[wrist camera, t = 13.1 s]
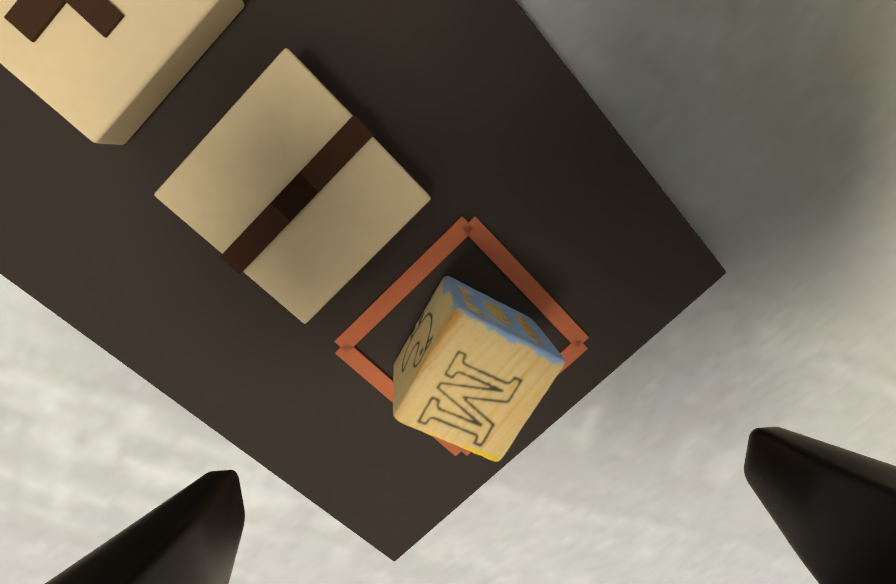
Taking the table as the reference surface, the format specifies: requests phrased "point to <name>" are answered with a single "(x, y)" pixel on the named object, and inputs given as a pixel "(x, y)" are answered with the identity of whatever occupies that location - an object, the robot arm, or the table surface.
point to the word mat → (325, 218)
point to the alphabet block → (472, 371)
